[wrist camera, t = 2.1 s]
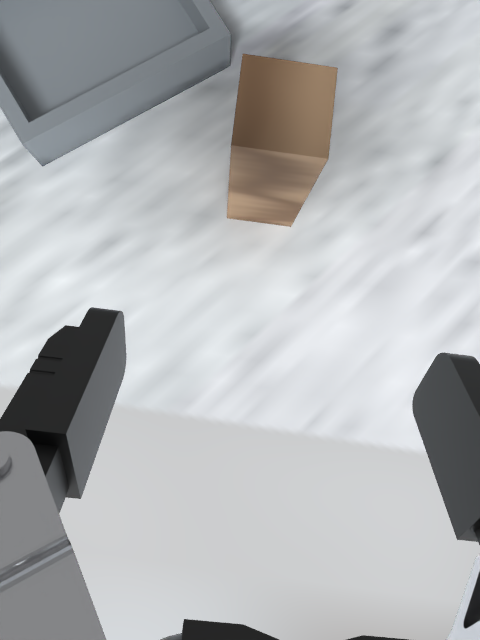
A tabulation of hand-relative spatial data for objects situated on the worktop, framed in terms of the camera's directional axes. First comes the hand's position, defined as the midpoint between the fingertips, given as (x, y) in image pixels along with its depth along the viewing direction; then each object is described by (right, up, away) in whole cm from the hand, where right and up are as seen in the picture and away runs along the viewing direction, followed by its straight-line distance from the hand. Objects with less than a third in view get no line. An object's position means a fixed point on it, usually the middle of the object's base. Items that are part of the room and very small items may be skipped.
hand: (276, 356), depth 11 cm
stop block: (+1, +10, +19) cm, 21 cm away
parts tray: (-11, +20, +19) cm, 30 cm away
